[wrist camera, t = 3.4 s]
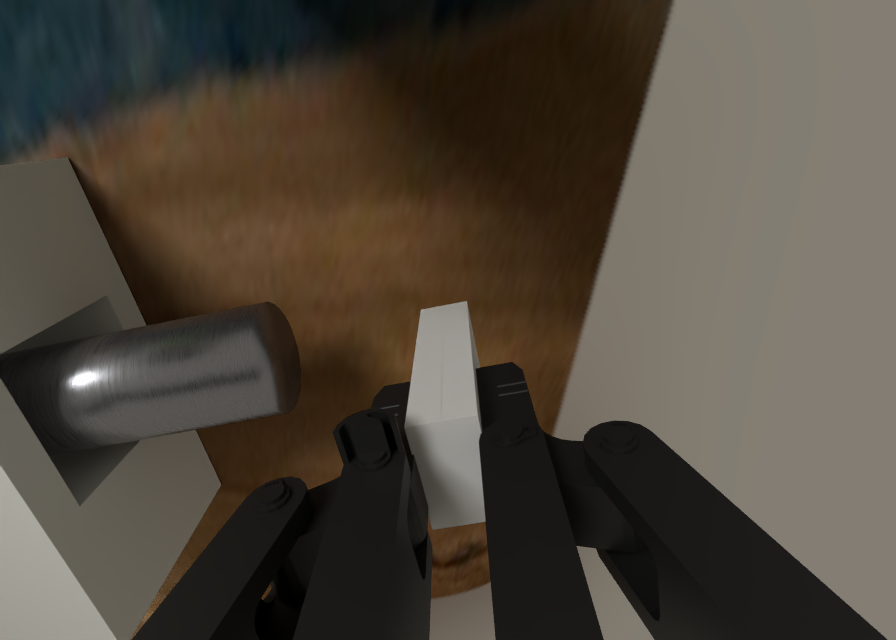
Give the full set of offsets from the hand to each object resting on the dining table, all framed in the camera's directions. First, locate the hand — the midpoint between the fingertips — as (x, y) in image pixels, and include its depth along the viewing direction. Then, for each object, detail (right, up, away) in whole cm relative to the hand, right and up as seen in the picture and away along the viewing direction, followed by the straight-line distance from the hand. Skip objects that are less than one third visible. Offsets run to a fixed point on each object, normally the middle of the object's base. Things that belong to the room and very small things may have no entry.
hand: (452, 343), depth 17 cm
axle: (-14, -1, +4) cm, 15 cm away
